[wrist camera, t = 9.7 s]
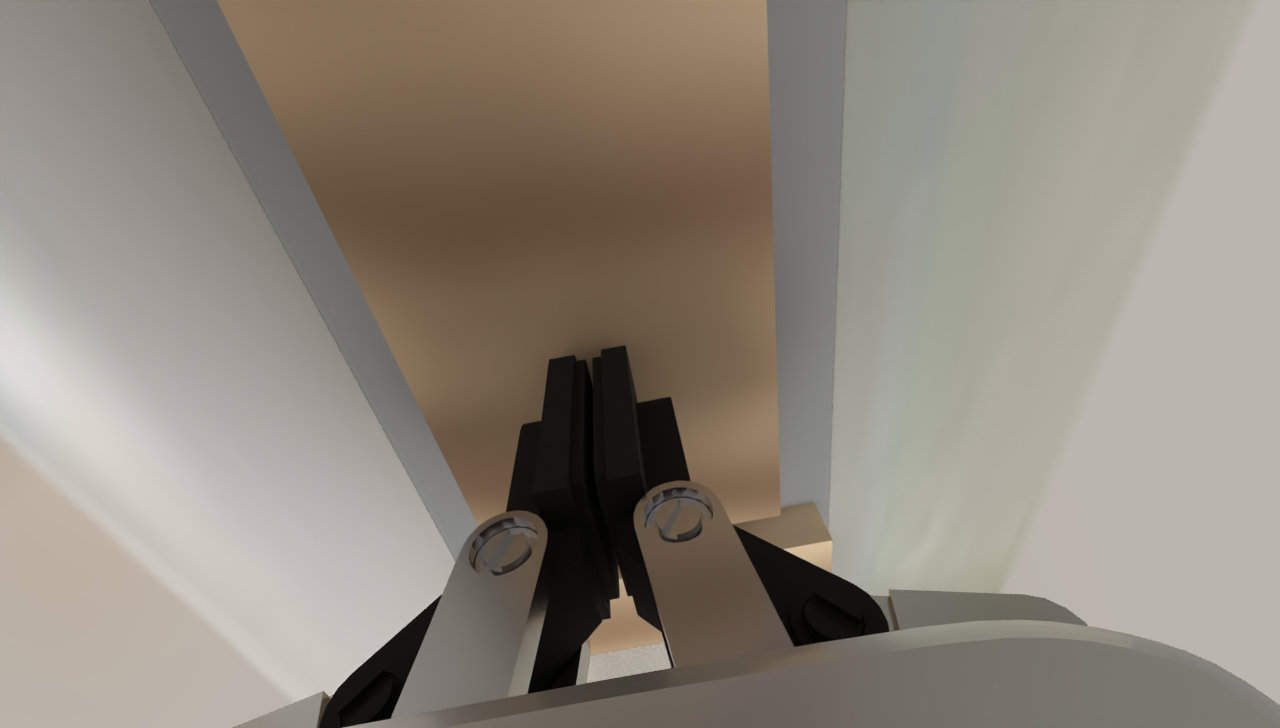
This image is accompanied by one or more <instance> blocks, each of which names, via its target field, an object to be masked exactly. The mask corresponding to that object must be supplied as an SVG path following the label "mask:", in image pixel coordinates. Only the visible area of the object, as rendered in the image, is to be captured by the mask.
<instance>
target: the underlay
mask: <svg viewBox="0 0 1280 728" xmlns="http://www.w3.org/2000/svg"><path fill="white" fill-rule="evenodd" d="M149 1H150V3H151V5H152V7H153V8H154V10H155V12H156V14H157V16H158V18H159V19H160V21H161V23H162V25H163V27H164V29H165V30H166V32H167V34H168V36H169V38H170V40H171V41H172V43H173V45H174V47H175V49H176V51H177V52H178V54H179V56H180V58H181V60H182V62H183V63H184V65H185V67H186V69H187V71H188V73H189V74H190V76H191V78H192V80H193V82H194V84H195V85H196V87H197V89H198V91H199V93H200V95H201V96H202V98H203V100H204V102H205V104H206V106H207V107H208V109H209V111H210V113H211V115H212V117H213V118H214V120H215V122H216V124H217V126H218V127H219V129H220V131H221V133H222V135H223V137H224V138H225V140H226V142H227V144H228V146H229V148H230V149H231V151H232V153H233V155H234V157H235V159H236V160H237V162H238V164H239V166H240V168H241V170H242V171H243V173H244V175H245V177H246V179H247V181H248V182H249V184H250V186H251V188H252V190H253V192H254V193H255V195H256V197H257V199H258V201H259V203H260V204H261V206H262V208H263V210H264V212H265V214H266V215H267V217H268V219H269V221H270V223H271V225H272V226H273V228H274V230H275V232H276V234H277V236H278V237H279V239H280V241H281V243H282V245H283V247H284V248H285V250H286V252H287V254H288V256H289V258H290V259H291V261H292V263H293V265H294V267H295V269H296V270H297V272H298V274H299V276H300V278H301V280H302V281H303V283H304V285H305V287H306V289H307V290H308V292H309V294H310V296H311V298H312V300H313V301H314V303H315V305H316V307H317V309H318V311H319V312H320V314H321V316H322V318H323V320H324V322H325V323H326V325H327V327H328V329H329V331H330V333H331V334H332V336H333V338H334V340H335V342H336V344H337V345H338V347H339V349H340V351H341V353H342V355H343V356H344V358H345V360H346V362H347V364H348V366H349V367H350V369H351V371H352V373H353V375H354V377H355V378H356V380H357V382H358V384H359V386H360V388H361V389H362V391H363V393H364V395H365V397H366V399H367V400H368V402H369V404H370V406H371V408H372V410H373V411H374V413H375V415H376V417H377V419H378V421H379V422H380V424H381V426H382V428H383V430H384V432H385V433H386V435H387V437H388V439H389V441H390V443H391V444H392V446H393V448H394V450H395V452H396V454H397V455H398V457H399V459H400V461H401V463H402V464H403V466H404V468H405V470H406V472H407V474H408V475H409V477H410V479H411V481H412V483H413V485H414V486H415V488H416V490H417V492H418V494H419V496H420V497H421V499H422V501H423V503H424V505H425V507H426V508H427V510H428V512H429V514H430V516H431V518H432V519H433V521H434V523H435V525H436V527H437V529H438V530H439V532H440V534H441V536H442V538H443V540H444V541H445V543H446V545H447V547H448V549H449V551H450V552H451V554H452V556H453V558H454V560H455V562H456V561H457V558H458V556H459V553H460V551H461V549H462V547H463V545H464V543H465V542H466V540H467V538H468V536H469V535H470V534H471V533H472V532H473V531H474V530H475V529H476V528H477V527H478V525H477V523H476V521H475V519H474V517H473V515H472V513H471V511H470V509H469V507H468V505H467V503H466V501H465V499H464V497H463V495H462V492H461V490H460V488H459V486H458V484H457V482H456V480H455V478H454V476H453V474H452V472H451V470H450V468H449V466H448V464H447V462H446V460H445V458H444V456H443V454H442V452H441V450H440V448H439V446H438V444H437V442H436V440H435V438H434V436H433V434H432V432H431V430H430V428H429V426H428V424H427V422H426V420H425V418H424V416H423V414H422V412H421V410H420V408H419V406H418V404H417V402H416V400H415V398H414V396H413V394H412V392H411V390H410V388H409V386H408V384H407V382H406V380H405V378H404V376H403V374H402V372H401V370H400V368H399V366H398V364H397V362H396V360H395V358H394V356H393V354H392V352H391V350H390V348H389V346H388V344H387V342H386V340H385V338H384V336H383V334H382V332H381V330H380V328H379V326H378V324H377V322H376V320H375V318H374V316H373V314H372V312H371V310H370V308H369V306H368V304H367V302H366V300H365V298H364V296H363V294H362V292H361V290H360V288H359V286H358V284H357V282H356V280H355V278H354V275H353V273H352V271H351V269H350V267H349V265H348V263H347V261H346V259H345V257H344V255H343V253H342V251H341V249H340V247H339V245H338V243H337V241H336V239H335V237H334V235H333V233H332V231H331V229H330V227H329V225H328V223H327V221H326V219H325V217H324V215H323V213H322V211H321V209H320V207H319V205H318V203H317V201H316V199H315V197H314V195H313V193H312V191H311V189H310V187H309V185H308V183H307V181H306V179H305V177H304V175H303V173H302V171H301V169H300V167H299V165H298V163H297V161H296V159H295V157H294V155H293V153H292V151H291V149H290V147H289V145H288V143H287V141H286V139H285V137H284V135H283V133H282V131H281V129H280V127H279V125H278V123H277V121H276V119H275V117H274V115H273V113H272V111H271V109H270V107H269V105H268V103H267V101H266V99H265V97H264V95H263V93H262V91H261V89H260V87H259V85H258V83H257V81H256V79H255V77H254V75H253V73H252V71H251V69H250V67H249V65H248V63H247V61H246V58H245V56H244V54H243V52H242V50H241V48H240V46H239V44H238V42H237V40H236V38H235V36H234V34H233V32H232V30H231V28H230V26H229V24H228V22H227V20H226V18H225V16H224V14H223V12H222V10H221V8H220V6H219V4H218V2H217V0H149ZM846 10H847V0H767V30H768V66H769V102H770V139H771V175H772V211H773V247H774V283H775V319H776V355H777V391H778V427H779V464H780V500H781V508H785V507H790V506H796V505H801V504H807V503H812V502H814V504H815V506H816V508H817V510H818V512H819V514H820V516H821V518H822V520H823V522H824V524H825V526H826V528H827V530H828V524H829V496H830V467H831V439H832V410H833V382H834V353H835V325H836V296H837V267H838V239H839V210H840V182H841V153H842V125H843V96H844V68H845V39H846Z"/></svg>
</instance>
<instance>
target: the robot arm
mask: <svg viewBox="0 0 1280 728" xmlns="http://www.w3.org/2000/svg"><path fill="white" fill-rule="evenodd" d="M592 370H593V385H592V381H591V377H590V373H589V370H588V366H587V362H586V360H585V359H584V360H579V361H577V359H576V356H575V355H570V356H565V357H559V358H554V359H550V360H549V363H548V371H547V379H546V387H545V395H544V403H543V411H542V419H541V421H536V422H531V423H526V424H523V425H522V426H521V429H520V434H519V440H518V446H517V451H516V457H515V463H514V468H513V474H512V480H511V485H510V491H509V497H508V502H507V508H506V512H504V513H501V514H499V515H496V516H494V517H492V518H490V519H488V520H487V521H485V522H484V523H482V524H481V525H479V526H478V527H477V528H476V529H475V530H474V531H473V532H472V533H471V534H470V535H469V536H468V538H467V540H466V542H465V543H464V545H463V547H462V549H461V551H460V553H459V556H458V558H457V561H456V563H455V565H454V568H453V570H452V573H451V575H450V577H449V580H448V582H447V585H446V587H445V589H444V592H443V594H442V595H441V596H439V597H438V598H437V599H436V600H435V601H434V602H433V603H432V604H430V605H429V606H428V607H427V608H426V609H425V610H424V611H422V612H421V613H420V614H419V615H418V616H417V617H416V618H415V619H413V620H412V621H411V622H410V623H409V624H408V625H407V626H405V627H404V628H403V629H402V630H401V631H400V632H399V633H398V634H396V635H395V636H394V637H393V638H392V639H391V640H390V641H388V642H387V643H386V644H385V645H384V646H383V647H382V648H381V649H379V650H378V651H377V652H376V653H375V654H374V655H373V656H371V657H370V658H369V659H368V660H367V661H366V662H365V663H364V664H362V665H361V666H360V667H359V668H358V669H357V670H356V671H354V672H353V673H352V674H351V675H350V676H349V677H348V678H347V679H346V680H345V682H344V683H343V684H342V685H341V686H340V687H339V688H338V689H337V691H336V692H335V694H334V695H332V696H328V695H327V694H326V693H325V692H324V691H322V692H320V693H317V694H315V695H313V696H310V697H308V698H305V699H303V700H300V701H298V702H295V703H293V704H290V705H288V706H285V707H283V708H280V709H278V710H275V711H273V712H270V713H268V714H266V715H263V716H261V717H258V718H256V719H253V720H251V721H249V722H246V723H243V724H241V725H238V726H236V727H233V728H1280V705H1279V704H1277V703H1276V702H1275V701H1273V700H1272V699H1270V698H1269V697H1268V696H1266V695H1264V694H1263V693H1262V692H1260V691H1259V690H1257V689H1256V688H1254V687H1253V686H1251V685H1250V684H1249V683H1247V682H1246V681H1244V680H1242V679H1241V678H1239V677H1237V676H1235V675H1233V674H1232V673H1230V672H1228V671H1227V670H1225V669H1223V668H1222V667H1220V666H1218V665H1216V664H1214V663H1212V662H1210V661H1208V660H1205V659H1203V658H1201V657H1198V656H1196V655H1194V654H1192V653H1189V652H1187V651H1185V650H1181V649H1178V648H1175V647H1172V646H1169V645H1166V644H1163V643H1160V642H1157V641H1153V640H1149V639H1146V638H1142V637H1138V636H1134V635H1130V634H1126V633H1121V632H1116V631H1111V630H1106V629H1102V628H1097V627H1091V626H1088V625H1087V624H1086V623H1085V622H1084V621H1082V620H1081V619H1080V618H1078V617H1077V616H1076V615H1075V614H1073V613H1072V612H1070V611H1069V610H1068V609H1067V608H1065V607H1062V606H1061V605H1058V604H1056V603H1054V602H1052V601H1049V600H1047V599H1045V598H1040V597H1034V596H1029V595H1020V594H994V593H968V592H942V591H916V590H890V589H889V595H888V596H870V595H869V594H868V593H866V592H865V591H863V590H862V589H860V588H859V587H857V586H856V585H854V584H852V583H850V582H848V581H846V580H844V579H842V578H840V577H838V576H836V575H834V574H832V573H830V572H828V571H826V570H824V569H822V568H820V567H818V566H816V565H814V564H812V563H810V562H808V561H806V560H804V559H802V558H800V557H798V556H796V555H794V554H792V553H790V552H787V551H785V550H783V549H781V548H779V547H777V546H775V545H773V544H771V543H769V542H767V541H765V540H763V539H761V538H759V537H757V536H755V535H753V534H751V533H749V532H747V531H745V530H743V529H741V528H739V527H737V526H735V525H733V524H732V523H731V521H730V519H729V517H728V515H727V513H726V511H725V509H724V507H723V505H722V503H721V501H720V500H719V498H718V497H717V496H716V495H715V493H714V492H713V491H712V490H710V489H709V488H707V487H706V486H704V485H702V484H699V483H695V482H692V481H691V480H690V476H689V472H688V467H687V463H686V459H685V455H684V450H683V446H682V442H681V438H680V433H679V429H678V425H677V421H676V416H675V412H674V408H673V404H672V400H671V397H665V398H660V399H654V400H649V401H644V402H638V401H637V396H636V391H635V387H634V382H633V377H632V372H631V368H630V363H629V358H628V353H627V349H626V345H623V346H618V347H613V348H607V349H602V350H601V356H600V357H595V358H592ZM618 566H619V569H620V573H621V576H622V579H623V583H624V586H625V589H626V593H627V596H628V597H629V596H632V597H633V601H634V604H635V608H636V611H637V615H638V616H639V617H641V618H642V619H644V620H645V621H646V622H648V623H649V624H651V625H652V626H653V627H655V628H656V629H658V630H659V631H661V634H662V638H663V641H664V645H665V648H666V652H667V655H668V659H669V662H670V666H671V668H670V669H665V670H659V671H653V672H648V673H642V674H636V675H631V676H625V677H620V678H614V679H608V680H603V681H597V682H591V683H586V682H587V675H588V668H589V661H590V654H591V650H590V639H589V637H590V635H591V634H592V633H593V632H594V631H595V630H596V628H597V627H598V626H599V625H600V624H601V623H602V620H605V619H611V609H610V600H613V599H618V598H619V597H620V588H619V571H618Z"/></svg>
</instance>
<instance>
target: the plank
mask: <svg viewBox="0 0 1280 728" xmlns="http://www.w3.org/2000/svg"><path fill="white" fill-rule="evenodd" d="M217 2H218V4H219V6H220V8H221V10H222V12H223V14H224V16H225V18H226V20H227V22H228V24H229V26H230V28H231V30H232V32H233V34H234V36H235V38H236V40H237V42H238V44H239V46H240V48H241V50H242V52H243V54H244V56H245V58H246V61H247V63H248V65H249V67H250V69H251V71H252V73H253V75H254V77H255V79H256V81H257V83H258V85H259V87H260V89H261V91H262V93H263V95H264V97H265V99H266V101H267V103H268V105H269V107H270V109H271V111H272V113H273V115H274V117H275V119H276V121H277V123H278V125H279V127H280V129H281V131H282V133H283V135H284V137H285V139H286V141H287V143H288V145H289V147H290V149H291V151H292V153H293V155H294V157H295V159H296V161H297V163H298V165H299V167H300V169H301V171H302V173H303V175H304V177H305V179H306V181H307V183H308V185H309V187H310V189H311V191H312V193H313V195H314V197H315V199H316V201H317V203H318V205H319V207H320V209H321V211H322V213H323V215H324V217H325V219H326V221H327V223H328V225H329V227H330V229H331V231H332V233H333V235H334V237H335V239H336V241H337V243H338V245H339V247H340V249H341V251H342V253H343V255H344V257H345V259H346V261H347V263H348V265H349V267H350V269H351V271H352V273H353V275H354V278H355V280H356V282H357V284H358V286H359V288H360V290H361V292H362V294H363V296H364V298H365V300H366V302H367V304H368V306H369V308H370V310H371V312H372V314H373V316H374V318H375V320H376V322H377V324H378V326H379V328H380V330H381V332H382V334H383V336H384V338H385V340H386V342H387V344H388V346H389V348H390V350H391V352H392V354H393V356H394V358H395V360H396V362H397V364H398V366H399V368H400V370H401V372H402V374H403V376H404V378H405V380H406V382H407V384H408V386H409V388H410V390H411V392H412V394H413V396H414V398H415V400H416V402H417V404H418V406H419V408H420V410H421V412H422V414H423V416H424V418H425V420H426V422H427V424H428V426H429V428H430V430H431V432H432V434H433V436H434V438H435V440H436V442H437V444H438V446H439V448H440V450H441V452H442V454H443V456H444V458H445V460H446V462H447V464H448V466H449V468H450V470H451V472H452V474H453V476H454V478H455V480H456V482H457V484H458V486H459V488H460V490H461V492H462V495H463V497H464V499H465V501H466V503H467V505H468V507H469V509H470V511H471V513H472V515H473V517H474V519H475V521H476V523H477V525H478V526H479V525H481V524H482V523H484V522H485V521H487V520H488V519H490V518H492V517H494V516H496V515H499V514H501V513H504V512H506V508H507V502H508V497H509V491H510V485H511V480H512V474H513V468H514V463H515V457H516V451H517V446H518V440H519V434H520V429H521V426H522V425H523V424H526V423H531V422H536V421H541V419H542V411H543V403H544V395H545V387H546V379H547V371H548V363H549V360H550V359H554V358H559V357H565V356H570V355H575V356H576V359H577V361H579V360H584V359H585V360H586V362H587V366H588V370H589V373H590V377H591V381H592V385H593V370H592V358H595V357H600V356H601V350H602V349H607V348H613V347H618V346H623V345H626V349H627V353H628V358H629V363H630V368H631V372H632V377H633V382H634V387H635V391H636V396H637V401H638V402H644V401H649V400H654V399H660V398H665V397H671V400H672V404H673V408H674V412H675V416H676V421H677V425H678V429H679V433H680V438H681V442H682V446H683V450H684V455H685V459H686V463H687V467H688V472H689V476H690V480H691V481H692V482H695V483H699V484H702V485H704V486H706V487H707V488H709V489H710V490H712V491H713V492H714V493H715V495H716V496H717V497H718V498H719V500H720V501H721V503H722V505H723V507H724V509H725V511H726V513H727V515H728V517H729V519H730V521H731V523H732V524H736V523H742V522H747V521H753V520H758V519H764V518H769V517H775V516H780V515H781V500H780V464H779V427H778V391H777V355H776V319H775V283H774V247H773V211H772V175H771V139H770V102H769V66H768V30H767V0H217Z"/></svg>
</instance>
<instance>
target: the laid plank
mask: <svg viewBox="0 0 1280 728" xmlns="http://www.w3.org/2000/svg"><path fill="white" fill-rule="evenodd" d="M733 525H735V526H737V527H739V528H741V529H743V530H745V531H747V532H749V533H751V534H753V535H755V536H757V537H759V538H761V539H763V540H765V541H767V542H769V543H771V544H773V545H775V546H777V547H779V548H781V549H783V550H785V551H787V552H790V553H792V554H794V555H796V556H798V557H800V558H802V559H804V560H806V561H808V562H810V563H812V564H814V565H816V566H818V567H820V568H822V569H824V570H826V571H828V572H830V573H831V568H832V544H833V540H832V538H831V536H830V534H829V532H828V530H827V528H826V526H825V524H824V522H823V520H822V518H821V516H820V514H819V512H818V510H817V508H816V506H815V504H814V502H812V503H807V504H801V505H796V506H790V507H785V508H781V515H780V516H775V517H769V518H764V519H758V520H753V521H747V522H742V523H736V524H733ZM618 571H619V588H620V597H619V598H618V599H613V600H610V609H611V619H605V620H602V623H601V624H600V625H599V626H598V627H597V628H596V630H595V631H594V632H593V633H592V634H591V635H590V637H589V639H590V650H591V654H590V656H591V655H597V654H602V653H608V652H614V651H619V650H625V649H630V648H636V647H642V646H647V645H653V644H658V643H664V641H663V638H662V634H661V631H659V630H658V629H656V628H655V627H653V626H652V625H651V624H649V623H648V622H646V621H645V620H644V619H642V618H641V617H639V616H638V615H637V611H636V608H635V604H634V601H633V597H632V596H629V597H628V596H627V593H626V589H625V586H624V583H623V579H622V576H621V573H620V569H619V566H618Z"/></svg>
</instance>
